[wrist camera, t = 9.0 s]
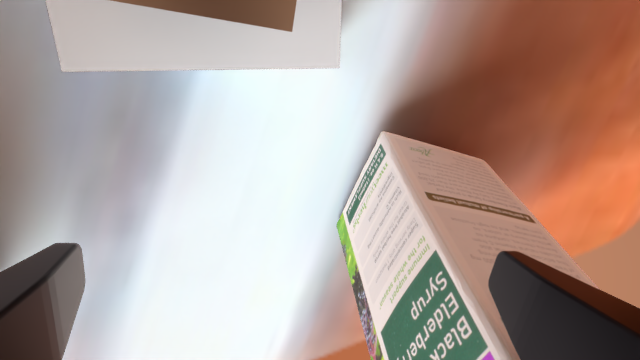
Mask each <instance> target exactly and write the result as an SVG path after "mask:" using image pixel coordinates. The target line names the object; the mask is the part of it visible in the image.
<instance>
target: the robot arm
mask: <svg viewBox="0 0 640 360" xmlns="http://www.w3.org/2000/svg"><path fill="white" fill-rule="evenodd" d="M488 287H489V291H490V293H491V295H492V298H493V300H494V302H495V305H496V307H497V309H498V312H499V314H500V316H501V319H502V321H503V323H504V326H505V328H506V330H507V333H508V335H509V337H510V340H511V342H512V344H513V346H514V348H515V350H516V352H517V354H518V356H519V358H520V360H640V308H637V307H635V306H633V305H631V304H629V303H627V302H624V301H622V300H620V299H618V298H616V297H614V296H612V295H610V294H608V293H606V292H603V291H601V290H599V289H597V288H595V287H593V286H591V285H589V284H587V283H584V282H582V281H580V280H578V279H576V278H574V277H572V276H570V275H567V274H565V273H563V272H561V271H559V270H557V269H555V268H553V267H551V266H548V265H546V264H544V263H542V262H540V261H538V260H536V259H534V258H531V257H529V256H527V255H525V254H523V253H521V252H518V251H501V252H499V253H498V255H497V257H496V259H495V262H494V265H493V268H492V271H491V274H490V277H489V280H488ZM84 288H85V272H84V264H83V255H82V249H81V247H80V245H79V244H77V243H55V244H53V245H51V246H49V247H47V248H45V249H44V250H42V251H40V252H38V253H36V254H34V255H32V256H30V257H28V258H26V259H25V260H23V261H21V262H19V263H17V264H15V265H13V266H11V267H9V268H8V269H6V270H4V271H2V272H0V360H62V358H63V355H64V352H65V349H66V346H67V343H68V339H69V336H70V333H71V330H72V327H73V324H74V321H75V317H76V314H77V311H78V308H79V305H80V302H81V298H82V295H83V292H84Z"/></svg>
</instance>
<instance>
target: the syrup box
mask: <svg viewBox="0 0 640 360" xmlns="http://www.w3.org/2000/svg"><path fill="white" fill-rule="evenodd" d="M337 229H338V233H339V237H340V240H341V244H342V248H343V252H344V256H345V260H346V264H347V268H348V272H349V276H350V279H351V283H352V287H353V291H354V295H355V298H356V302H357V306H358V311H359V315H360V319H361V322H362V326H363V330H364V334H365V338H366V342H367V345H368V350H369V353H370V358H371V360H520V358H519V356H518V354H517V352H516V350H515V348H514V346H513V344H512V342H511V340H510V337H509V335H508V333H507V330H506V328H505V326H504V323H503V321H502V319H501V316H500V314H499V312H498V309H497V307H496V305H495V302H494V300H493V298H492V295H491V293H490V291H489V287H488V280H489V277H490V274H491V271H492V268H493V265H494V262H495V259H496V257H497V255H498V253H499V252H501V251H518V252H521V253H523V254H525V255H527V256H529V257H531V258H534V259H536V260H538V261H540V262H542V263H544V264H546V265H548V266H551V267H553V268H555V269H557V270H559V271H561V272H563V273H565V274H567V275H570V276H572V277H574V278H576V279H578V280H580V281H582V282H584V283H587V284H589V285H591V286H593V287H595V288H597V289H599V288H598V287H597V286H596V285H595V284H594V282H593V281H592V280H591V279H590V278H589V277H588V276H587V275H586V273H585V272H584V271H583V270H582V269H581V268H580V267H579V266H578V265H577V264H576V262H575V261H574V260H573V259H572V258H571V257H570V256H569V255H568V253H567V252H566V251H565V250H564V249H563V248H562V247H561V245H560V244H559V243H558V242H557V241H556V240H555V239H554V238H553V237H552V236H551V234H550V233H549V232H548V231H547V230H546V229H545V228H544V227H543V225H542V224H541V223H540V222H539V221H538V220H537V219H536V218H535V216H534V215H533V214H532V213H531V212H530V211H529V210H528V208H527V207H526V206H525V205H524V204H523V203H522V202H521V201H520V199H519V198H518V197H517V196H516V195H515V194H514V193H513V192H512V191H511V189H510V188H509V187H508V186H507V185H506V184H505V183H504V182H503V181H502V179H501V178H500V177H499V176H498V175H497V174H496V173H495V171H494V170H493V169H492V168H491V167H490V166H489V165H488V164H487V163H486V162H485V161H484V160H483V159H480V158H476V157H473V156H469V155H466V154H462V153H459V152H456V151H453V150H449V149H446V148H442V147H439V146H435V145H431V144H428V143H425V142H421V141H418V140H414V139H410V138H407V137H403V136H400V135H396V134H393V133H389V132H386V131H382V132H381V133H380V135H379V137H378V140H377V143H376V145H375V147H374V149H373V151H372V152H371V155H370V157H369V159H368V161H367V162H366V164H365V166H364V168H363V170H362V172H361V174H360V176H359V178H358V180H357V183H356V185H355V187H354V189H353V191H352V193H351V195H350V197H349V199H348V202H347V204H346V206H345V208H344V210H343V212H342V215H341V216H340V219H339V221H338V222H337ZM599 290H600V289H599Z"/></svg>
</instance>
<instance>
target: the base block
mask: <svg viewBox="0 0 640 360" xmlns="http://www.w3.org/2000/svg"><path fill="white" fill-rule="evenodd" d="M45 1H46V5H47V10H48V14H49V18H50V23H51V27H52V31H53V36H54V40H55V44H56V49H57V53H58V57H59V61H60V66H61V70H62V72H90V71H164V70H239V69H314V68H339V67H340V38H341V9H342V0H297V2H296V9H295V16H294V23H293V29H292V32H289V31H283V30H277V29H272V28H266V27H260V26H254V25H249V24H243V23H237V22H231V21H226V20H220V19H214V18H208V17H203V16H197V15H191V14H185V13H179V12H174V11H168V10H162V9H156V8H151V7H145V6H139V5H133V4H128V3H122V2H116V1H110V0H45Z"/></svg>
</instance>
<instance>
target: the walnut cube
mask: <svg viewBox="0 0 640 360" xmlns="http://www.w3.org/2000/svg"><path fill="white" fill-rule="evenodd" d="M110 1H116V2H122V3H128V4H133V5H139V6H145V7H151V8H156V9H162V10H168V11H174V12H179V13H185V14H191V15H197V16H203V17H208V18H214V19H220V20H226V21H231V22H237V23H243V24H249V25H254V26H260V27H266V28H272V29H277V30H283V31H289V32H292V29H293V23H294V16H295V9H296V2H297V0H110Z"/></svg>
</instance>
